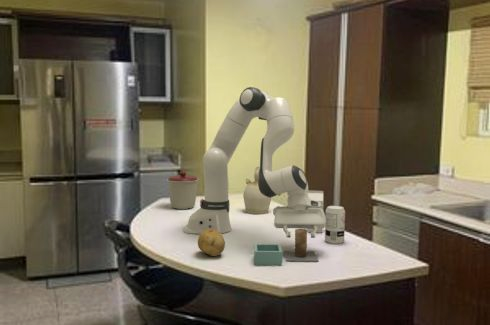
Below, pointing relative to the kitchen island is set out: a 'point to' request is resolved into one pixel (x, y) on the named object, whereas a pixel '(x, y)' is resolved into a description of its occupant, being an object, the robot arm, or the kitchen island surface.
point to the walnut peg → (300, 243)
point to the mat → (292, 258)
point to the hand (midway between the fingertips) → (300, 237)
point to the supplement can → (335, 224)
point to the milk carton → (318, 197)
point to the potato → (211, 242)
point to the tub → (267, 254)
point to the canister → (182, 190)
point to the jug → (255, 197)
